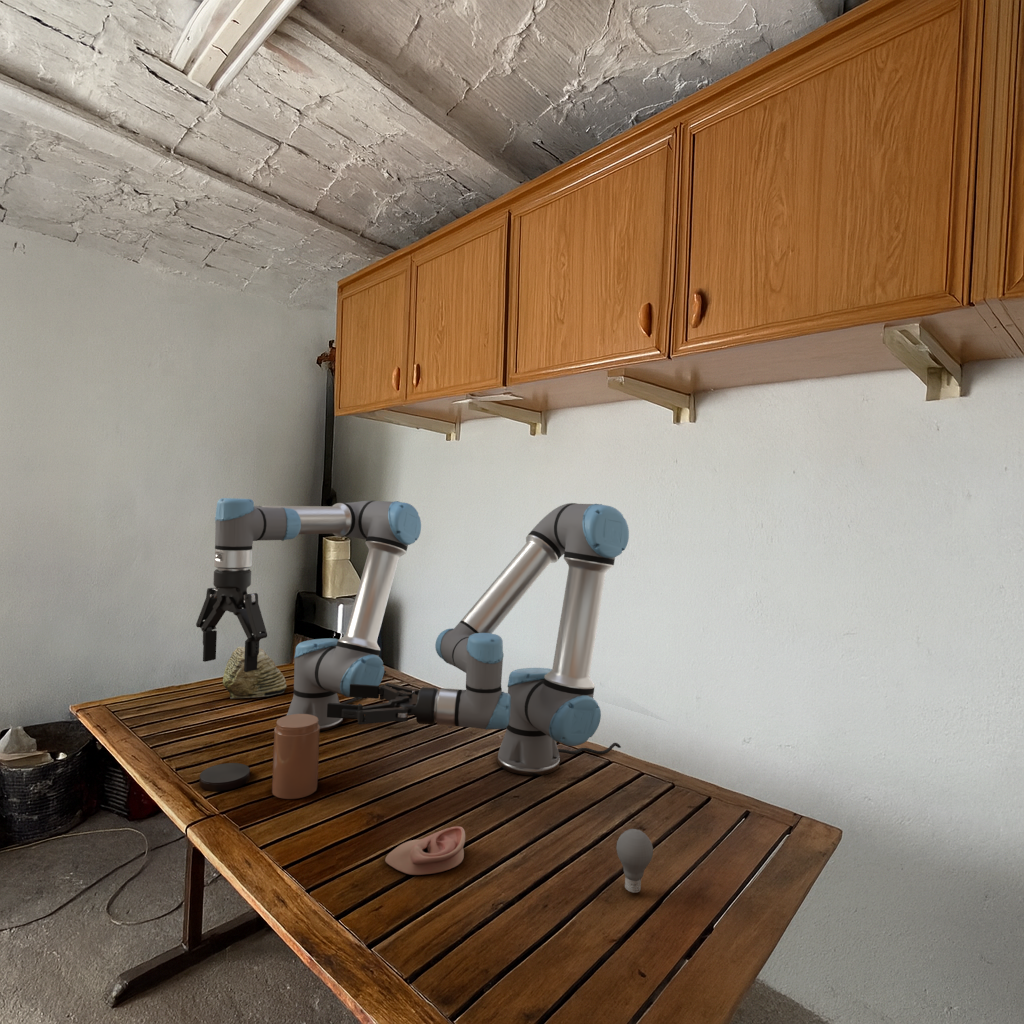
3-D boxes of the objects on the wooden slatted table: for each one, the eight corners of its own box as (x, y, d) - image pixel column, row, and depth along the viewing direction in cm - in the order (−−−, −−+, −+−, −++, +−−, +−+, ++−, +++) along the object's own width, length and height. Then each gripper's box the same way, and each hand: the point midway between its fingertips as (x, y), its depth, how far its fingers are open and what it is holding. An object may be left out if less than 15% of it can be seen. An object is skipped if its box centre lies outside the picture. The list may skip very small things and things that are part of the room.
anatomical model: (378, 846, 108) (403, 814, 120) (377, 869, 108) (402, 835, 120) (453, 858, 106) (471, 824, 117) (452, 882, 106) (470, 846, 117)
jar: (283, 803, 130) (286, 731, 130) (264, 787, 137) (267, 719, 137) (325, 790, 137) (328, 721, 136) (305, 775, 143) (307, 710, 143)
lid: (256, 771, 144) (257, 763, 144) (238, 792, 134) (238, 783, 134) (212, 770, 144) (212, 762, 144) (190, 790, 134) (190, 781, 134)
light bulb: (610, 879, 108) (613, 822, 108) (644, 879, 109) (647, 822, 109) (619, 902, 102) (622, 840, 102) (655, 901, 103) (658, 840, 103)
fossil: (218, 695, 195) (220, 647, 195) (278, 685, 208) (279, 640, 207) (228, 703, 189) (230, 653, 188) (289, 692, 201) (290, 645, 201)
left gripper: (181, 564, 141) (177, 659, 141) (257, 575, 129) (254, 679, 129) (211, 562, 148) (208, 653, 148) (286, 572, 136) (283, 671, 136)
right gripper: (423, 746, 122) (316, 738, 123) (447, 705, 146) (357, 699, 148) (425, 707, 121) (317, 700, 123) (448, 673, 146) (359, 667, 148)
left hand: (229, 665), depth 139 cm, fingers open, 13 cm apart
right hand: (339, 699), depth 136 cm, fingers open, 13 cm apart
